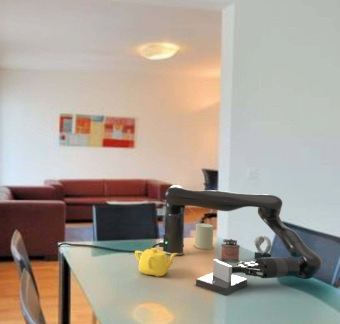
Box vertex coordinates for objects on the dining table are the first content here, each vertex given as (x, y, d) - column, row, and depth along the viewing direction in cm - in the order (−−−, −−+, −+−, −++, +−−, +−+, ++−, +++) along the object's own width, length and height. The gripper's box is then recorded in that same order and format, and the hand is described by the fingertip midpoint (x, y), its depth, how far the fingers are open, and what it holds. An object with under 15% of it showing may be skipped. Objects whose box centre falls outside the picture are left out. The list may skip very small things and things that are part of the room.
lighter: (237, 260, 180) (238, 238, 179) (239, 262, 176) (240, 240, 176) (219, 259, 180) (220, 238, 180) (221, 261, 177) (222, 239, 177)
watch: (260, 256, 187) (261, 234, 186) (273, 261, 179) (274, 237, 179) (251, 257, 185) (252, 234, 184) (264, 262, 177) (265, 238, 177)
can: (192, 244, 206) (192, 222, 206) (208, 244, 207) (209, 222, 207) (198, 249, 197) (199, 226, 197) (215, 249, 198) (216, 226, 197)
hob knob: (231, 282, 142) (232, 265, 142) (228, 282, 141) (228, 266, 141) (215, 274, 150) (216, 259, 149) (212, 275, 149) (213, 259, 149)
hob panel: (226, 295, 135) (226, 288, 135) (195, 285, 145) (195, 278, 145) (247, 285, 146) (248, 278, 146) (217, 276, 156) (217, 270, 155)
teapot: (162, 267, 166) (163, 243, 166) (177, 277, 154) (178, 251, 153) (133, 269, 162) (133, 245, 162) (146, 279, 150) (147, 253, 149)
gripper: (283, 283, 140) (240, 285, 136) (259, 271, 153) (220, 273, 149) (284, 263, 140) (241, 265, 136) (260, 253, 153) (221, 254, 149)
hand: (230, 269), depth 143 cm, fingers closed
